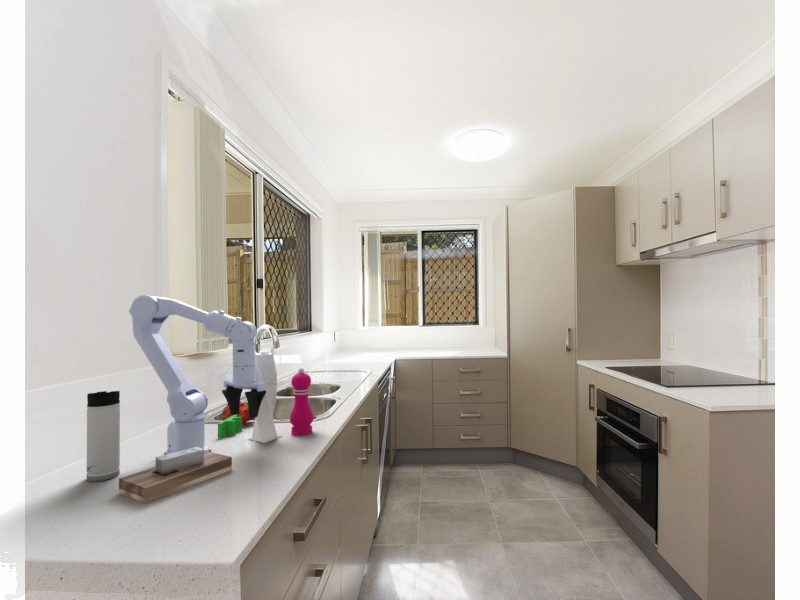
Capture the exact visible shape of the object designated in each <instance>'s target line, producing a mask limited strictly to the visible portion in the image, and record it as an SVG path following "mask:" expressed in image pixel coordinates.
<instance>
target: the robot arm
mask: <svg viewBox="0 0 800 600" xmlns="http://www.w3.org/2000/svg"><path fill="white" fill-rule="evenodd" d="M128 313H129V315H130V316H131V319H132V332H133V333H132V334H133V337H134V339H135V340H136V343H138V345H139V347H140V348H141V350H142V352H143V354H144V355H145V357H146V359H148V361H149V363H150V364H151V365H150V366H152V368H153V370H154V372H155V373H156V374H157V377H158V378H159V379H160V381H161V382H162V384H163V386H164V387H165V389H166V390H167V396H166V401H167V403H168V405H169V413H170V415H171V417H172V420H171V421H170V423H169V425H168V426H167V434H166V435H167V437H166V438H167V443H166V445H167V446H166V449H167V450H165V451H163V453H164V454H165V455H166V454H170V453H174V452H178V451H182V450H185V449H189V448H193V447H199V448H202V449H204V451H209V452H211V451H212V449H213V448H212V447H209V446H205V435H206V434H205V413H204V412H205V411H206V409H207V408H208V404H209V399H208V397H207V395H206V394H205V393H204V392H202V391H200V390H199V389H198V387H197V386H196V385H195V384H193V383H192V382H190V381H189V380H188V379H187V376H185V375H186V374H185V373H184V372H183V370H182V369H181V367H180V366H179V363H178V362H177V360H176V359H175V357H174V355H173V354H172V353H171V351H170V350H169V347H168V346H167V344H166V343H165V341H164V339H163V338H162V337H161V334H160V329H161V328H162V325H163V324H164V322H166V321H167V320H168V318H169V317H170V316H179V317H181V318H184V319H188V320H191V321H194V322H196V323H197V322H198V323H200V324H203V326H204V328H205V329H206V331H209V332H210V333H214V334H217V335H220V336H222V337H225V338H228V339H230V341H232V379H225V380H223V388H225V389H222V390H221V393H222V395H223V396H224V398H225V400H226V402H227V404H228V406H229V409H230V413H231V415H235V414H238V413H239V409H240V401H241V397H242V394H243V390H247V391H245V392H244V395H245V398H246V400H247V404H248V407H249V416H250V418H254V417H257V416H258V412H259V408H260V405H261V402H262V400H263V398H264V396H265V394H266V390H265V383H262V382H258V381H257V380H255V351H256V349H255V339H256V337H257V335H258V329H257V327H256V325H255V324H254V323H253V322H251V321H249V320H244V321H242V317H239V316H237V317H235V316H232V315H229V314H226V312H225V311H224V310H221V309H220V310H219V309H218V310H213V311H211V312H207V311H205V310H202V309H200V308H198V307H195V306H192V305H190V304H188V303H185V302H183V301H181V300H177V299H174V298H173V299H172V298H168V297H165V296H155V295H154V296H152V295H147V294H143V295H138V296H137V297H136V298H135V299H133V301H132V304H131V306H130V308H129V311H128ZM248 390H249V391H248Z"/></svg>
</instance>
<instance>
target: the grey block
mask: <svg viewBox="0 0 800 600" xmlns="http://www.w3.org/2000/svg"><path fill="white" fill-rule="evenodd" d="M201 463H204V449H202V448H199V447H193V448H189V449H185V450H182V451H178V452H174V453H170V454H166V453H165V454H162V455H159V456H155V467H156V472H158V473H159V475H162V476H167V475H170V474H173V471H177V470H180V469H184V468H187V467H193V466H196V465H199V464H201Z"/></svg>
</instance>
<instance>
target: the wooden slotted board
mask: <svg viewBox="0 0 800 600" xmlns="http://www.w3.org/2000/svg"><path fill="white" fill-rule="evenodd" d="M232 464H233V458H232V456H228V455H225V454H220V453H216V452H213V451H204V463H201V464H199V465H196V466H193V467H187V468H184V469H180V470H177V471H173V474H170V475H167V476H162V475H159V473H158V472H156V466H154V467H150V468H148V469H144V470H141V471H138V472H136V473H135V472H134V473H132V474H129V475H126V476H123V477H120V478H118V494H120V495H122V496H124V497H128V498H129V499H130V498H131V499H133V500H136V501H138V502H139V503H140V502H141V503H143V504H149V503H150V502H153V501H155V500H157V499H161V498H163V497H165V496H168V495H171V494H173V493H175V492H179V491H181V490H183V488H184V489H186V488H189V487H191V486H194V485H196V484H199V483H201V482H203V481H206V480H209V479H211V478H214V477H216V476H219V475H221V474H224V473H227V472H230V471H232V470H233V469H232V467H233V465H232ZM188 486H189V487H188ZM180 489H181V490H180ZM178 490H179V491H178Z"/></svg>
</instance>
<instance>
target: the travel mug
mask: <svg viewBox="0 0 800 600" xmlns="http://www.w3.org/2000/svg"><path fill="white" fill-rule="evenodd" d="M86 395H87V397H86V398H87V404H86V481H88V482H91V481H92V482H95V483H97V482H103V481H107V480H111V479H113V478H116V477H117V476H119V474H120V472H121V471H120V468H121V467H120V466H121V465H120V463H121V462H120V459H121V456H120V454H121V451H120V450H121V446H120V445H121V444H120V443H121V441H120V440H121V430H120V429H121V415H120V414H121V405H120V404H121V399H120V396H121V394H120V390H113V391H111V390H110V391H109V392H108V391H107V390H105V391H104V390H103V391H97V392H90V393H86Z"/></svg>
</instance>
